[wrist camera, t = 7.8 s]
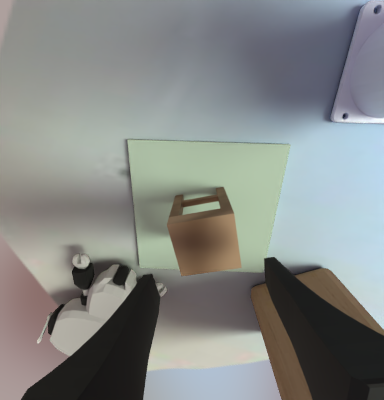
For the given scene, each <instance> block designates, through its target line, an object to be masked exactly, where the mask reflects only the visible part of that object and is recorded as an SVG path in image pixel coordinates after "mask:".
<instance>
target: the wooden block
mask: <svg viewBox="0 0 384 400" xmlns="http://www.w3.org/2000/svg"><path fill="white" fill-rule="evenodd" d="M294 276H295V277H296V278H298V279H299V280H300V281H301V282H302V283H303V284H305V285H306V286H307V287H308V288H310V289H311V290H312V291H313V292H315V293H316V294H317V295H319V296H320V297H321V298H323V299H324V300H326V301H327V302H328V303H330V304H331V305H333V306H334V307H336V308H337V309H339V310H340V311H342V312H343V313H345V314H347V315H348V316H350V317H352V318H353V319H355V320H357V321H358V322H360V323H362V324H364V325H365V326H367V327H369V328H371V329H372V330H374V331H376V332H378V333H380V334H382V335H384V330H383V329H382V328H381V326H380V325H379V324H378V323H377V322H376V321H375V320H374V319H373V317H372V316H371V315H370V314H369V313H368V312H367V311H366V310H365V308H364V307H363V306H362V305H361V304H360V303H359V302H358V301H357V299H356V298H355V297H354V296H353V295H352V294H351V293H350V292H349V290H348V289H347V288H346V287H345V286H344V285H343V284H342V283H341V281H340V280H339V279H338V278H337V277H336V276H335V275H334V274H333V272H332V271H330V270H329V269H326V268H320V269H317V270H313V271H309V272H305V273H302V274H298V275H294ZM251 299H252V303H253V306H254V309H255V313H256V316H257V319H258V323H259V326H260V329H261V333H262V336H263V339H264V343H265V346H266V349H267V353H268V356H269V359H270V363H271V366H272V369H273V372H274V376H275V379H276V382H277V386H278V389H279V392H280V396H281V399H282V400H313V399H312V396H311V393H310V391H309V388H308V385H307V382H306V380H305V377H304V374H303V371H302V369H301V366H300V363H299V361H298V358H297V355H296V353H295V350H294V347H293V345H292V343H291V341H290V338H289V336H288V334H287V332H286V330H285V328H284V326H283V323H282V321H281V319H280V317H279V315H278V313H277V311H276V309H275V306H274V304H273V302H272V300H271V297H270V294H269V291H268V288H267V286H266V283H264V284H260V285H257V286H254V287H253V288H252V289H251Z"/></svg>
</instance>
